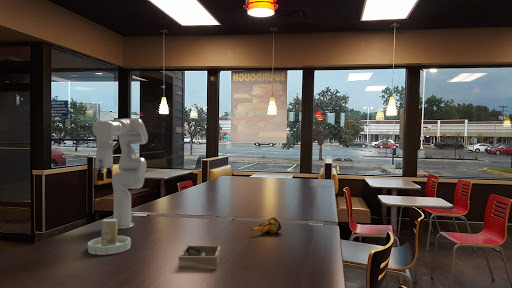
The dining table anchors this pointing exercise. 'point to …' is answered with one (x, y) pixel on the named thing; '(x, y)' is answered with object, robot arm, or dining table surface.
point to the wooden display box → (201, 257)
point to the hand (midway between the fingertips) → (104, 179)
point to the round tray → (121, 246)
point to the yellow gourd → (268, 227)
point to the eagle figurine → (195, 252)
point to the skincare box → (109, 232)
